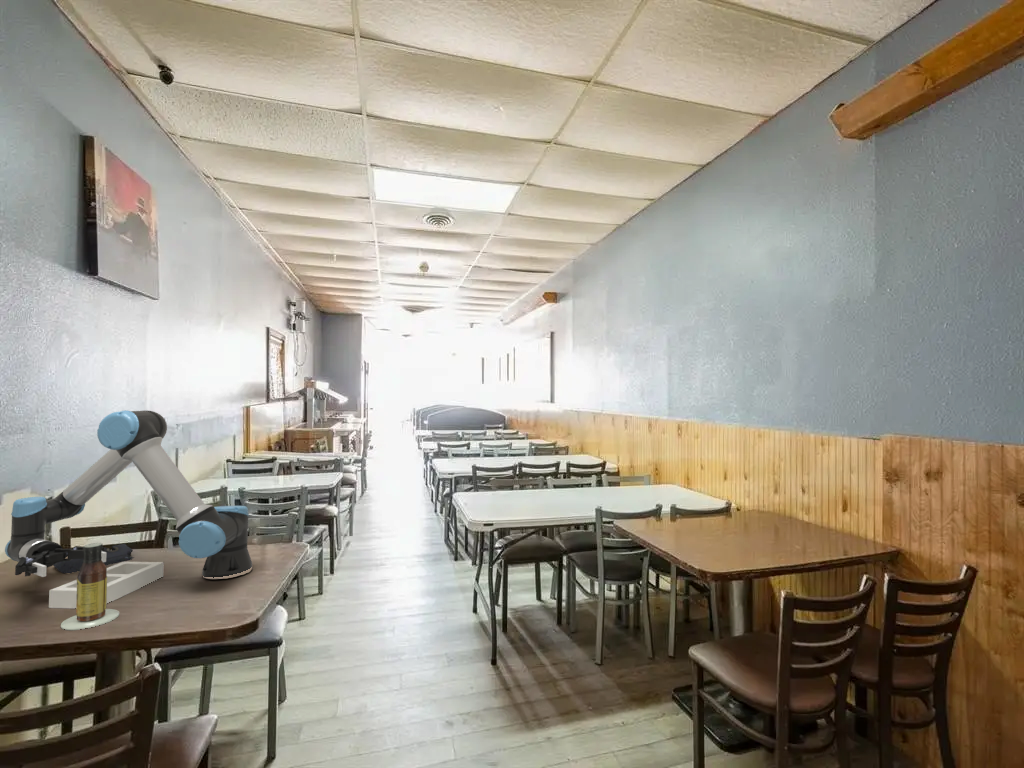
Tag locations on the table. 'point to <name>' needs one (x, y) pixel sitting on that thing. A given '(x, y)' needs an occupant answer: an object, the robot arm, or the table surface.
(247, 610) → the table surface
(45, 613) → the table surface
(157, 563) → the condiment caddy
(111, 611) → the coaster
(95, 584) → the sauce bottle
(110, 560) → the dark slate chunk
